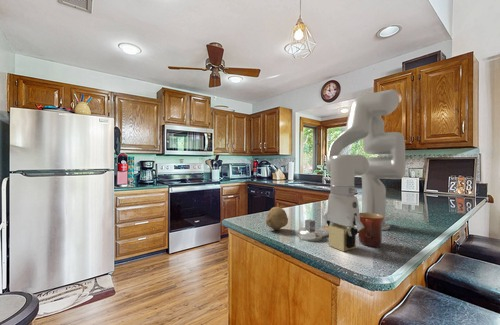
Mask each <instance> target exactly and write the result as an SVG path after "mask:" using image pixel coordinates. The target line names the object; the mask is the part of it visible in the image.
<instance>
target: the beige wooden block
mask: <svg viewBox="0 0 500 325" xmlns="http://www.w3.org/2000/svg"><path fill="white" fill-rule="evenodd" d="M356 227H357V226H355V228H356ZM351 231H352V228H351ZM347 236H348V232H347V229H346V226H342V225H339V224H333V225H329V236H328V246H330V247H331V248H333V249H334V248H335V249H337V250H339V251H340V252H346V251H349V250H355V249H356V247H357V241H356V240H357V239H356V237H357V235H355V246H354V247H352V248H347Z"/></svg>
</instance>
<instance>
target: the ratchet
mask: <svg viewBox="0 0 500 325" xmlns="http://www.w3.org/2000/svg"><path fill="white" fill-rule="evenodd" d="M324 237H329V226H328V225H325V226H323V227H321V228H316V221H315V220H313V219H310V218H309V219H305V220H304V227H300V228H298V229H297V238H298V239H300V240H303V241H306V242H320V241H322V240H323V238H324Z"/></svg>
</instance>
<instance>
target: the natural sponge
mask: <svg viewBox="0 0 500 325" xmlns="http://www.w3.org/2000/svg"><path fill="white" fill-rule="evenodd" d="M288 222H289V218H288V215H287V212H286V211H285V210H284V209H283V207H280V206H273V207H271V209H269V211H268V212H267V215H266V218H265V224H266V226H268V227H269V228H271V229H272V230H274V231H280V230H281V229H282V228H285V227H286V226H287V224H288Z"/></svg>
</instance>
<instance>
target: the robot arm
mask: <svg viewBox="0 0 500 325" xmlns="http://www.w3.org/2000/svg"><path fill="white" fill-rule="evenodd" d="M399 103H400V96H399V92H398V91H397V90H395V89H393V88H392V89H387V90H381V91H377V92H370V93H366V94H362V95H359V96H357V97H355V98H354V100H353V101H351V104H350V106H349V112H348V116H347V121H346V124H345V125H346V126H345V130H343V131H342V132H341V133H340V134H339V135H338V136H337V137H336V138H335V139H334V140H333V141H332V142H331V144H330V146H329V149H328V152H327V156H326V164H325V165H326V170H327V172H328V173H329V174H330V186H329V188H330V189H329V190H330V193H329V194H328V199H327V207H326V213H325V214H324V215H323V219H324V220H325V221H324V222H326V225H327V226H329V225H333V224H339V225H342V226H346V229H347V232H348V236H347V248H352V247H354V246H355V235H356V236H358V233H359V232H360V231H361V230H362V229H364V226H363V224H362V223H361V222H360V213H374V214H379V215H382V216H384V220H383V222H382V231H386V230H389V229H390V228H391V226H390V225H389V224H388V223H387V222H389V221H390V220H391V218H390V216H386V214H387V212H386V210H387V207H386V206H387V205H386V204H387V195H386V194H387V189H386V186H385V184H384V183H383V181H381V180H383V179H385V180H386V179H387V180H401V179H403V178H404V176H405V174H406V141H405V137H404V135H403V134H402V133H401V132H398V131H389V132H385V120H384V119H383V118H382V117H381V116H388V115H390V114H392V113H393V112H394V111H395V110H396V109H397V108H398V106H399ZM361 140H362V141H363V142H362V143H363V145H362V146H363V151H364V152H365V154H368V155H391V156H389V157H388V156H387V157H385V156H384V157H383V156H379V157H378V156H377V157H376V156H371V157H366V156H365V155H363V154H341V152H342V151H343V150H344V149H346V148H347V147H348V146H350V145H353V144H355V143H357V142H359V141H361ZM355 176H357V177H358V176H361V212H360V206H359V200H358V197H357V196H356V195H355V194H357V193H358V190H357V189H356V188H355ZM355 227H356V228H355ZM351 228H352V231H351Z"/></svg>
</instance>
